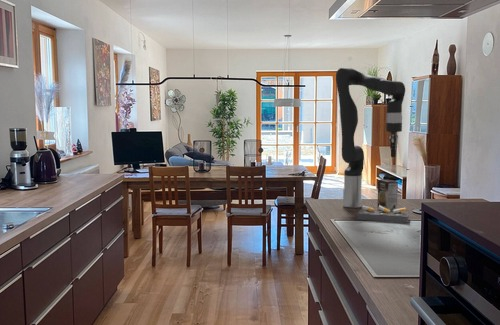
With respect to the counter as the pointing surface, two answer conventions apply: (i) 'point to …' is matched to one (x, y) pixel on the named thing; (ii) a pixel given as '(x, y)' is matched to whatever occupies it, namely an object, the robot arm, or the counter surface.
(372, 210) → the left rocker
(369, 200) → the counter surface
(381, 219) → the power strip
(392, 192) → the coffee box
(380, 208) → the middle rocker
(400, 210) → the right rocker
